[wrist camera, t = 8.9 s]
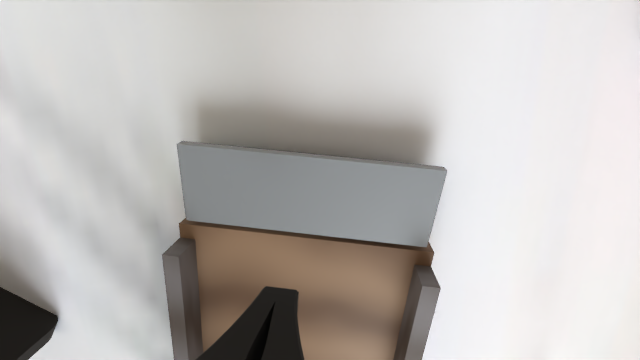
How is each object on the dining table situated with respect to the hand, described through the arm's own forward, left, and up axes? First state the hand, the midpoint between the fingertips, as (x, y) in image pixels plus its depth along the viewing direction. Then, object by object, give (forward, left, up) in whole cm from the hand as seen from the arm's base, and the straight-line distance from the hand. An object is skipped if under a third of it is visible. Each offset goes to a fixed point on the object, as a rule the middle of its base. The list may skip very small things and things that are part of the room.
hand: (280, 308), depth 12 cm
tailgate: (0, 0, -7) cm, 7 cm away
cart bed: (-3, -6, -9) cm, 11 cm away
